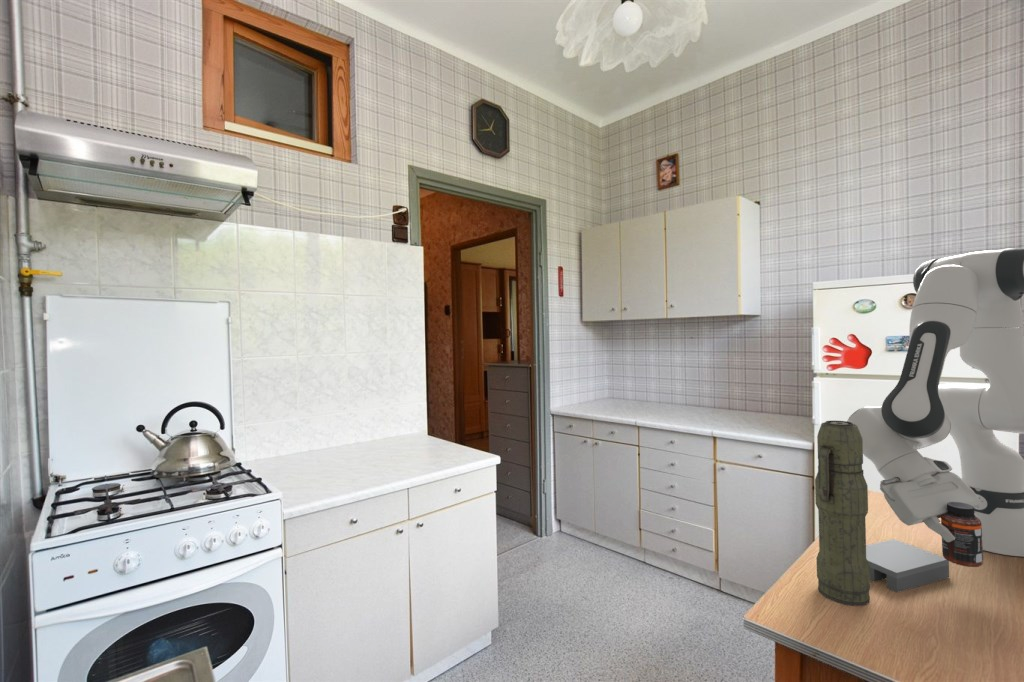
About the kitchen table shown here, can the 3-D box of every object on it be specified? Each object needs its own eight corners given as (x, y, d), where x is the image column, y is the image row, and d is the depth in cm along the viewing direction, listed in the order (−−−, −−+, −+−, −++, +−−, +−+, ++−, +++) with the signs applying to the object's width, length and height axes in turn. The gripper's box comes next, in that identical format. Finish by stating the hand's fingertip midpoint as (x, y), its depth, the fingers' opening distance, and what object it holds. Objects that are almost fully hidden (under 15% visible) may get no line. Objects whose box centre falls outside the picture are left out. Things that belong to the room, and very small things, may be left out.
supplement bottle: (991, 569, 92) (989, 511, 92) (955, 567, 93) (953, 510, 93) (968, 554, 98) (967, 499, 98) (935, 553, 99) (933, 499, 99)
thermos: (881, 594, 97) (877, 421, 96) (854, 614, 91) (850, 429, 90) (833, 576, 104) (829, 416, 104) (805, 593, 98) (801, 423, 98)
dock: (894, 555, 113) (893, 538, 113) (949, 577, 102) (948, 559, 102) (844, 568, 108) (844, 550, 108) (897, 592, 97) (896, 572, 97)
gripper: (886, 474, 98) (943, 540, 89) (952, 461, 105) (1011, 521, 96) (864, 489, 103) (917, 553, 94) (929, 475, 109) (984, 534, 100)
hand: (965, 537), depth 95 cm, fingers closed on supplement bottle, 6 cm apart
